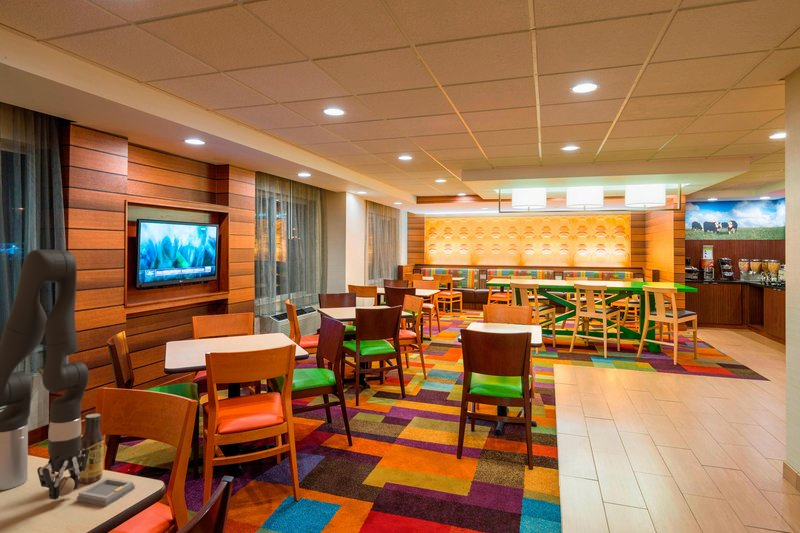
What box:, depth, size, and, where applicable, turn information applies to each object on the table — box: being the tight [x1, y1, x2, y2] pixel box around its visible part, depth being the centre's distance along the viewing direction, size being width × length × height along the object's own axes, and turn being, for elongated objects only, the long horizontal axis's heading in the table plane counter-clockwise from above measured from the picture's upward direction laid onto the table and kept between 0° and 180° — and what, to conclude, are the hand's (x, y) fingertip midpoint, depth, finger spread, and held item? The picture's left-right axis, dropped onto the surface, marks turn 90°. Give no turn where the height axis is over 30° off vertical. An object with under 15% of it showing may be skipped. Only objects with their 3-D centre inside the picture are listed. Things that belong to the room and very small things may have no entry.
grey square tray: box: [76, 477, 136, 507], centre depth 134 cm, size 10×10×2 cm
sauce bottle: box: [78, 413, 105, 484], centre depth 142 cm, size 7×6×20 cm
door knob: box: [58, 476, 75, 497], centre depth 130 cm, size 5×5×5 cm
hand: (63, 493), depth 130 cm, fingers closed on door knob, 5 cm apart
